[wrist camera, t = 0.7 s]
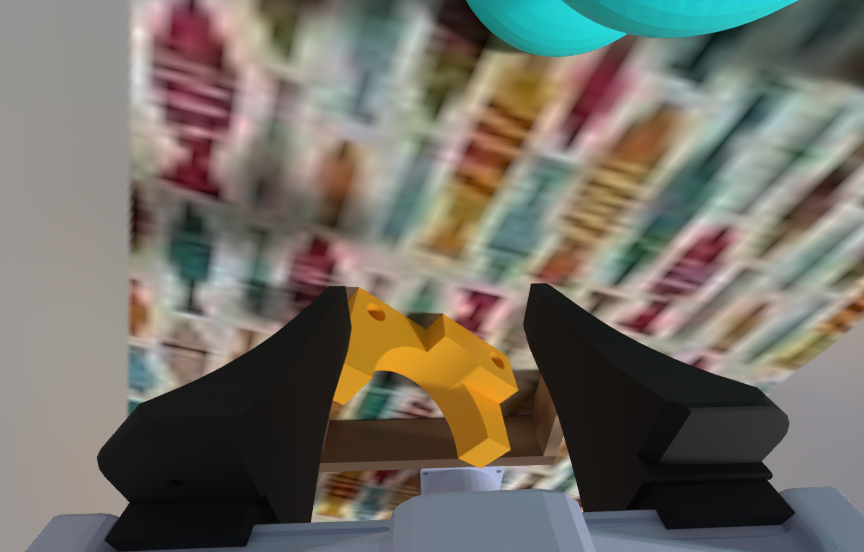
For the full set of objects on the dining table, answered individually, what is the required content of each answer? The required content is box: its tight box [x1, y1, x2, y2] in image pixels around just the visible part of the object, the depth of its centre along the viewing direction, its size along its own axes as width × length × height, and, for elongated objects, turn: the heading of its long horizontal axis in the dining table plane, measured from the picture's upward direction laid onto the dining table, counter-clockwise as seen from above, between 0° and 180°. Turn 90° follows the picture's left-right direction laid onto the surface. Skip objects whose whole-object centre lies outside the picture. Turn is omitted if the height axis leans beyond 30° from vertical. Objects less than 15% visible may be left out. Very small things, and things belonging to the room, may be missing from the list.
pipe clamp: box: [333, 287, 518, 469], centre depth 20 cm, size 12×4×6 cm, turn 50°
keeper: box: [319, 374, 563, 472], centre depth 25 cm, size 7×19×4 cm, turn 90°
